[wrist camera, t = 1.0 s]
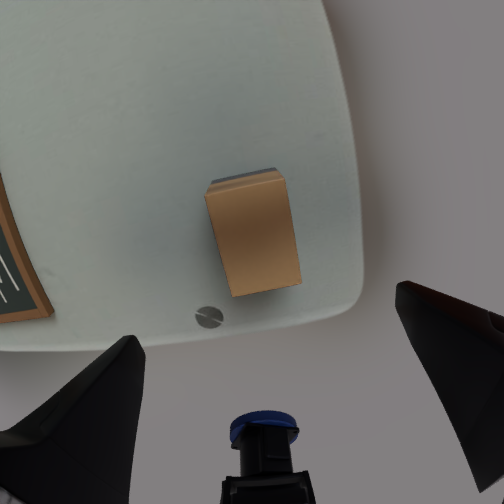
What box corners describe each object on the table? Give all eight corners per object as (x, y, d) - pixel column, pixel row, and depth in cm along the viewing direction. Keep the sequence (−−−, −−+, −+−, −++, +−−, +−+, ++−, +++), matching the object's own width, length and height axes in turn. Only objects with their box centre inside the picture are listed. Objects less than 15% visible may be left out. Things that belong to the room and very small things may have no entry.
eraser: (291, 254, 20) (302, 283, 16) (233, 266, 20) (232, 297, 16) (275, 167, 17) (284, 178, 14) (211, 180, 18) (204, 195, 14)
